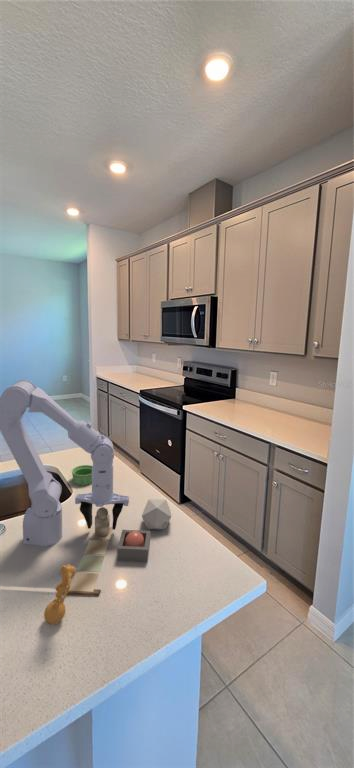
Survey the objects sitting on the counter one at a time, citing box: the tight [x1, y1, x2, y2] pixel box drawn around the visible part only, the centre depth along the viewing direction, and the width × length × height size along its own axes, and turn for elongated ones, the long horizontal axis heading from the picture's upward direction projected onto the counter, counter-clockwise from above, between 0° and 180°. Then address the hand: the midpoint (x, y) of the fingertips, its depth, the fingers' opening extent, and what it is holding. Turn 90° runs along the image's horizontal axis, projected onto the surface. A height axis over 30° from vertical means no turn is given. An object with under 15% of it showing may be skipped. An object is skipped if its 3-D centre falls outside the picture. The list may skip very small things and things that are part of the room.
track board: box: [62, 526, 114, 597], centre depth 84 cm, size 8×24×1 cm, turn 0°
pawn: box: [94, 506, 111, 537], centre depth 92 cm, size 4×4×8 cm
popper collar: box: [116, 529, 151, 563], centre depth 86 cm, size 8×8×4 cm
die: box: [141, 498, 172, 530], centre depth 97 cm, size 8×9×10 cm
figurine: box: [43, 563, 77, 625], centre depth 65 cm, size 8×6×12 cm
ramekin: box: [71, 464, 93, 486], centre depth 124 cm, size 9×9×4 cm
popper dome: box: [125, 531, 145, 547], centre depth 85 cm, size 5×5×5 cm
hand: (102, 527), depth 92 cm, fingers open, 6 cm apart
